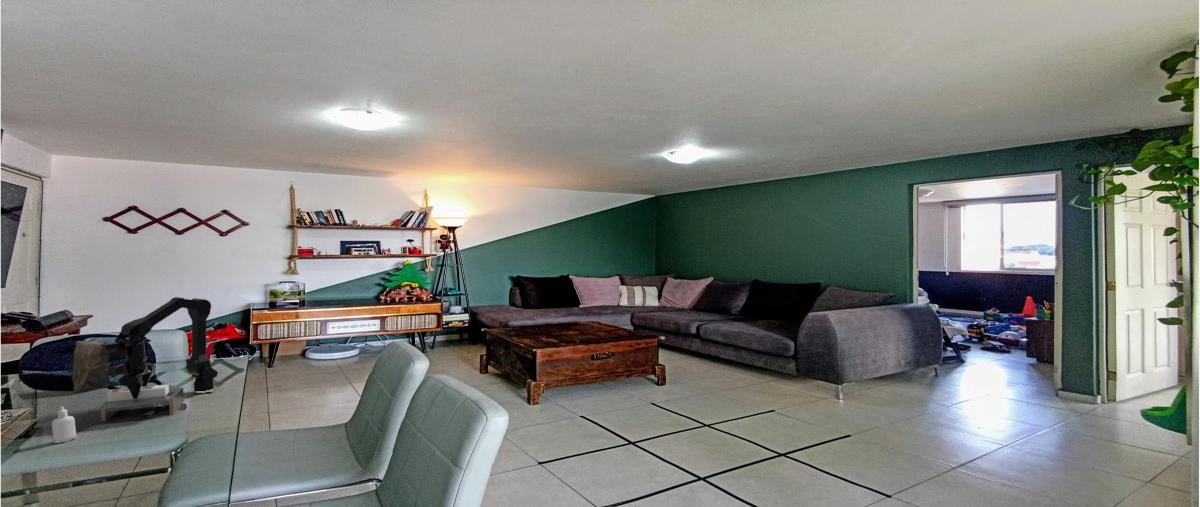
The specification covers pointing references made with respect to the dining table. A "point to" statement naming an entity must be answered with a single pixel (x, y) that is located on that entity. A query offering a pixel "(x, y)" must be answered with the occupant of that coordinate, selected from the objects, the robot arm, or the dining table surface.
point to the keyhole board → (174, 403)
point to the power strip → (144, 393)
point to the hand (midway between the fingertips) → (138, 395)
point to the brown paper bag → (89, 367)
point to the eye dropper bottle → (63, 425)
